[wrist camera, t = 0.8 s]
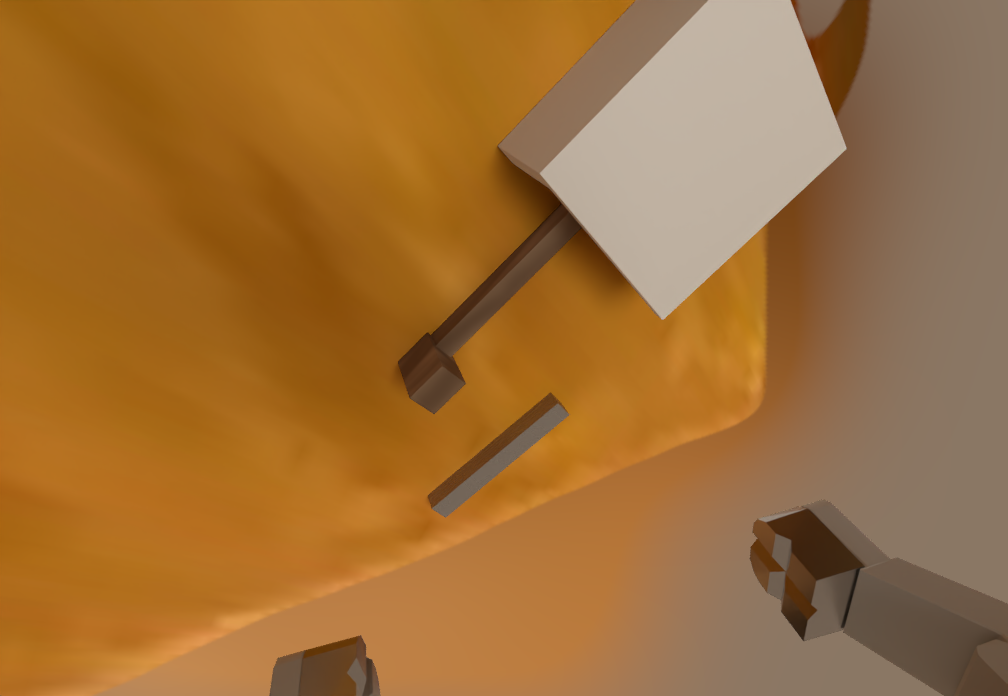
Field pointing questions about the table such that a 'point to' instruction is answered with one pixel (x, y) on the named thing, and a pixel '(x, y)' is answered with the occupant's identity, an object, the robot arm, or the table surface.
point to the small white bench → (681, 136)
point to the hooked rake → (479, 314)
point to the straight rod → (497, 455)
